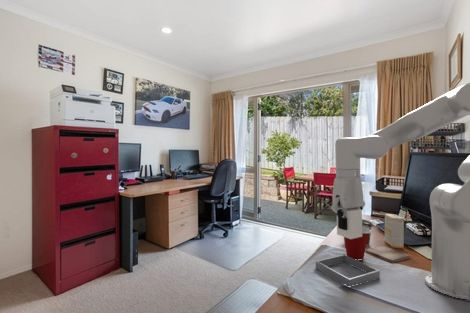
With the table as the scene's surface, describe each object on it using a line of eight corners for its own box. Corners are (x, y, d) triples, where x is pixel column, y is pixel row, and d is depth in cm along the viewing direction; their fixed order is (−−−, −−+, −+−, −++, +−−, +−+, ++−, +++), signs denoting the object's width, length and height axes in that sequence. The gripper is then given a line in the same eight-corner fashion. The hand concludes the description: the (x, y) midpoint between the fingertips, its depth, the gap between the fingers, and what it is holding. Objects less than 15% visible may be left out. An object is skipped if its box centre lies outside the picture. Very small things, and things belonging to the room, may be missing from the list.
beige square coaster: (410, 257, 95) (410, 255, 95) (392, 262, 90) (392, 260, 90) (382, 248, 105) (382, 245, 105) (365, 252, 100) (365, 249, 100)
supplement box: (404, 248, 104) (404, 218, 104) (391, 247, 105) (392, 217, 105) (395, 242, 112) (395, 213, 112) (384, 241, 113) (384, 213, 113)
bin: (379, 278, 79) (379, 270, 79) (349, 288, 73) (349, 279, 73) (343, 261, 91) (343, 254, 91) (315, 268, 85) (315, 261, 85)
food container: (371, 241, 113) (372, 219, 113) (373, 245, 108) (373, 223, 108) (343, 237, 119) (343, 216, 119) (342, 241, 113) (343, 219, 113)
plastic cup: (378, 262, 90) (378, 230, 90) (352, 264, 88) (353, 232, 88) (357, 251, 101) (358, 222, 101) (334, 253, 99) (335, 223, 99)
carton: (362, 236, 80) (361, 209, 80) (350, 239, 78) (350, 211, 78) (348, 232, 85) (347, 206, 85) (337, 234, 83) (336, 208, 83)
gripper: (355, 172, 89) (357, 221, 89) (320, 174, 82) (321, 228, 81) (375, 173, 82) (376, 226, 82) (338, 176, 75) (340, 234, 75)
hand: (349, 227), depth 82 cm, fingers closed on carton, 5 cm apart
